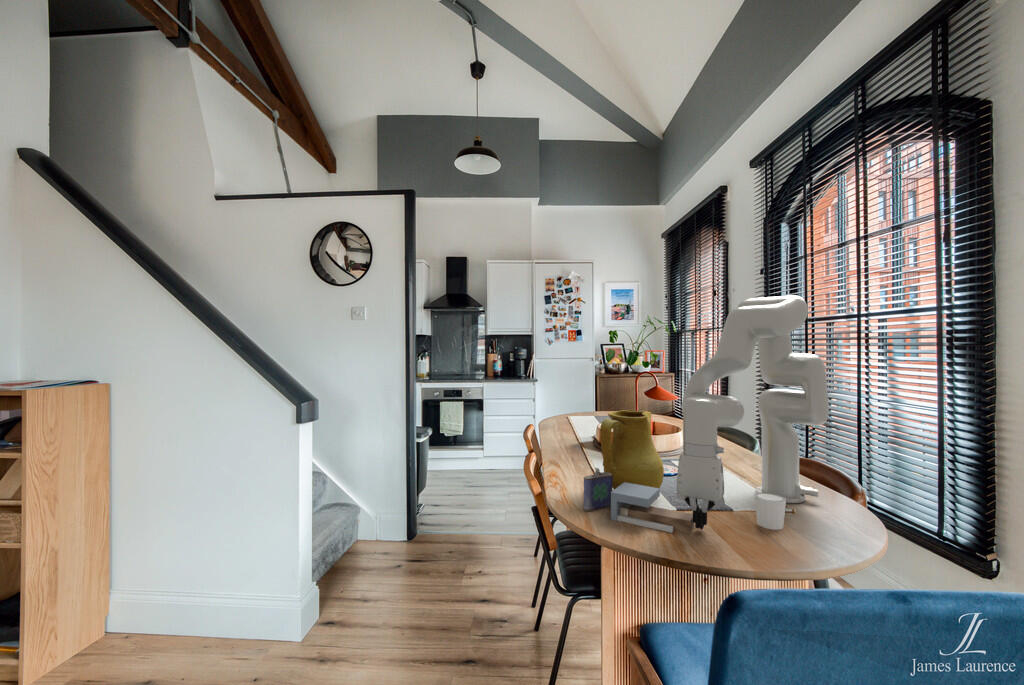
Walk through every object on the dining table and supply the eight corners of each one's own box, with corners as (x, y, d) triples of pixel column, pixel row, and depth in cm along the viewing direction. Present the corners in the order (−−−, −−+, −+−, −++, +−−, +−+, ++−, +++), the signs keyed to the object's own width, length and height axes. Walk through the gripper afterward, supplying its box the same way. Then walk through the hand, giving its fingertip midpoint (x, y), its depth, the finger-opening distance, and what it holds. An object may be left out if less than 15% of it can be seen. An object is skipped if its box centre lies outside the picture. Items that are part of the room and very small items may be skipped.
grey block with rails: (681, 519, 114) (681, 492, 114) (671, 533, 105) (671, 503, 105) (624, 507, 122) (624, 482, 122) (610, 519, 114) (610, 492, 114)
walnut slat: (693, 526, 110) (694, 514, 110) (690, 533, 105) (690, 521, 105) (625, 513, 118) (625, 501, 118) (619, 519, 114) (619, 507, 114)
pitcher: (674, 505, 123) (669, 413, 124) (606, 507, 124) (601, 416, 125) (655, 487, 140) (651, 407, 141) (596, 489, 141) (592, 409, 142)
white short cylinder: (789, 532, 106) (789, 503, 106) (756, 528, 109) (756, 499, 109) (782, 521, 113) (782, 494, 113) (752, 518, 115) (752, 491, 115)
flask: (587, 512, 119) (587, 472, 119) (580, 508, 121) (580, 469, 121) (614, 507, 123) (614, 468, 123) (607, 503, 125) (607, 465, 125)
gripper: (736, 450, 106) (736, 528, 106) (671, 443, 114) (671, 515, 114) (732, 457, 99) (732, 540, 99) (663, 448, 107) (663, 525, 107)
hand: (699, 526), depth 106 cm, fingers closed
